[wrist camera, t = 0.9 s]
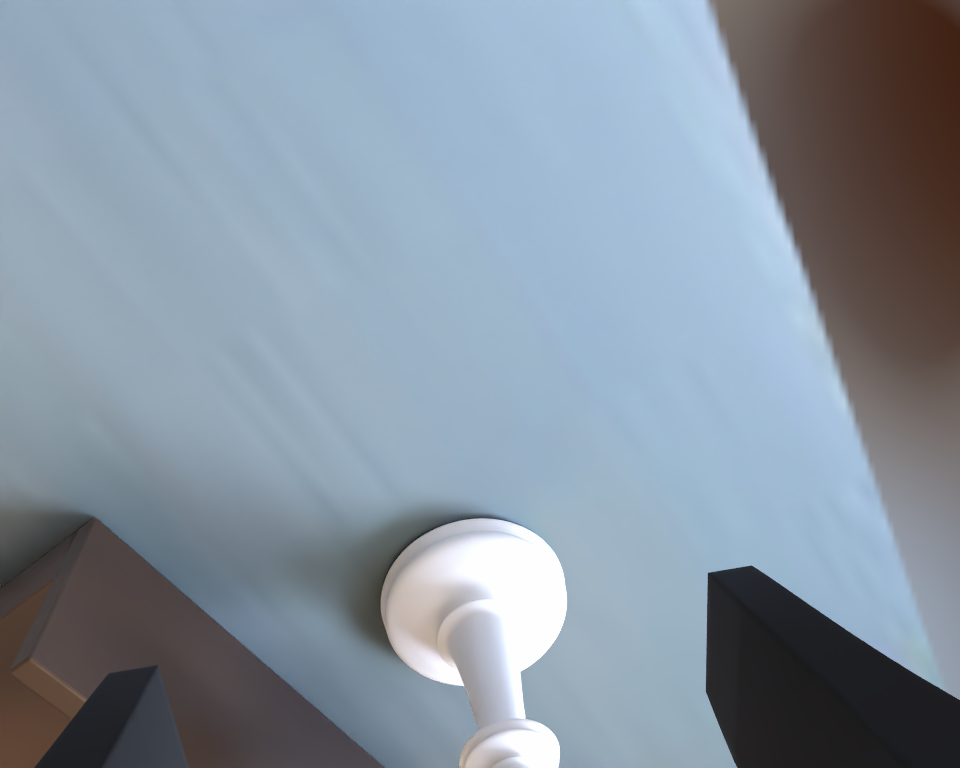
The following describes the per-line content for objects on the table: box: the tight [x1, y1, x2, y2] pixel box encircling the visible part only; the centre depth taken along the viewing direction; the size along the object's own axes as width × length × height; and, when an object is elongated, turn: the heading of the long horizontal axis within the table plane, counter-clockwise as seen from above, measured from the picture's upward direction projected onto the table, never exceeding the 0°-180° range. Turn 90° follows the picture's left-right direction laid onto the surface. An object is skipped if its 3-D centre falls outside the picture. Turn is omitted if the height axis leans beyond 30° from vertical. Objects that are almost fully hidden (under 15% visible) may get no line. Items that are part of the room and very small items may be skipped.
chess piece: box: [381, 518, 567, 768], centre depth 19 cm, size 5×5×10 cm
